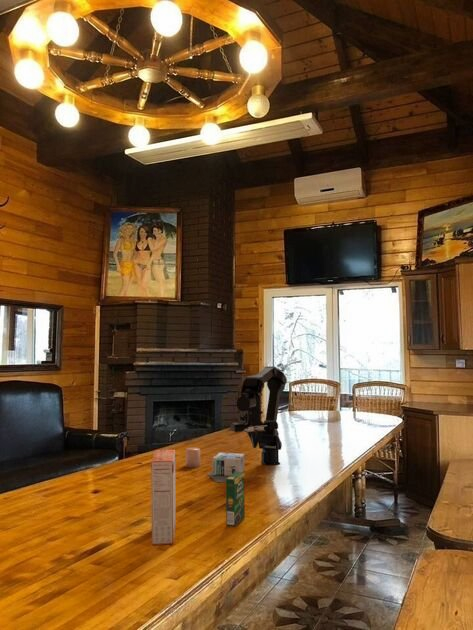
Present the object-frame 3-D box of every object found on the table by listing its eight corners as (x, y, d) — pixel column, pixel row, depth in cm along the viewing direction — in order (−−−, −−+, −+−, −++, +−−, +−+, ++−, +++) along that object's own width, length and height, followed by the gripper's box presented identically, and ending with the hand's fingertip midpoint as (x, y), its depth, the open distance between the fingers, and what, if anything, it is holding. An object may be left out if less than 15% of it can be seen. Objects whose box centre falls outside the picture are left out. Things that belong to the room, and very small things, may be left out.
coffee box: (235, 527, 134) (234, 478, 135) (225, 526, 135) (225, 478, 136) (245, 518, 141) (245, 472, 142) (236, 517, 142) (235, 471, 143)
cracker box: (154, 525, 136) (154, 449, 137) (176, 524, 136) (176, 448, 138) (149, 545, 122) (150, 460, 123) (173, 544, 122) (174, 460, 124)
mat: (233, 471, 194) (233, 470, 194) (245, 479, 182) (245, 479, 182) (206, 474, 191) (206, 473, 191) (217, 482, 179) (217, 481, 179)
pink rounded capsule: (197, 463, 209) (197, 447, 209) (201, 466, 203) (201, 449, 203) (184, 464, 206) (184, 448, 207) (187, 468, 201) (187, 450, 201)
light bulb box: (239, 459, 186) (212, 457, 188) (239, 477, 185) (211, 475, 187) (244, 453, 196) (218, 451, 198) (244, 470, 196) (218, 468, 198)
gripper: (266, 404, 206) (267, 442, 205) (225, 407, 199) (225, 446, 198) (278, 407, 195) (279, 447, 194) (235, 410, 189) (235, 451, 188)
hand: (254, 447), depth 194 cm, fingers closed
